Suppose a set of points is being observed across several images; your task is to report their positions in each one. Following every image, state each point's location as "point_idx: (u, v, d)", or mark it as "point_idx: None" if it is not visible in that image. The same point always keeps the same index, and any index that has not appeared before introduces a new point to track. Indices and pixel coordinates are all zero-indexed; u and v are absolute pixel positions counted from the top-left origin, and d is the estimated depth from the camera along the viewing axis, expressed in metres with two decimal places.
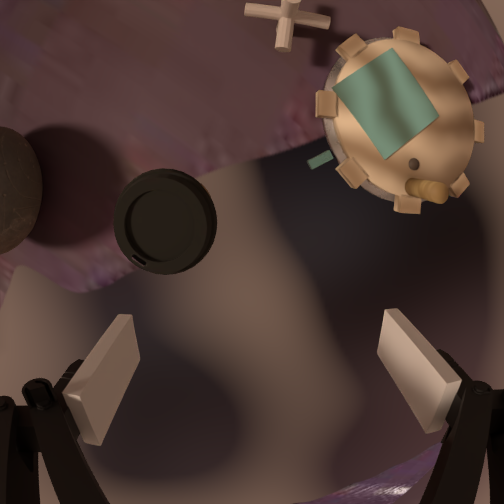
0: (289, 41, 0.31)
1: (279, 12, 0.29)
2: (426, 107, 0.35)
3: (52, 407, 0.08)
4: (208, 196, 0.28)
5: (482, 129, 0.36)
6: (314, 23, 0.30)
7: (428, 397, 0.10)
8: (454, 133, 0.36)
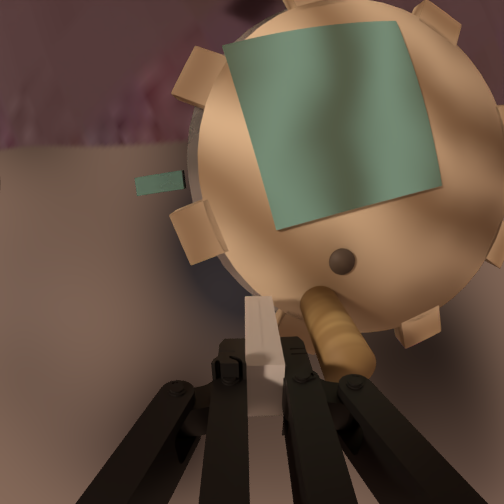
0: None
1: None
2: (421, 158, 0.17)
3: (238, 385, 0.11)
4: None
5: None
6: None
7: None
8: (456, 232, 0.19)
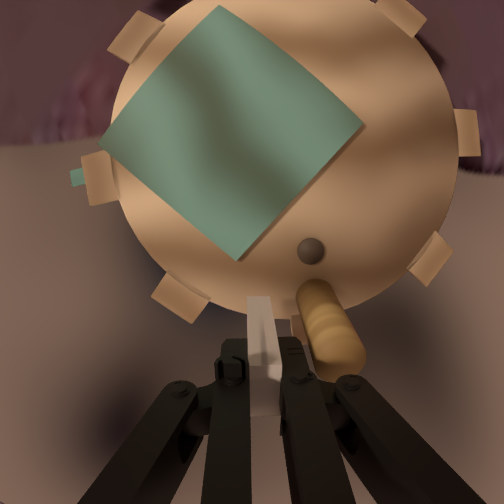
0: None
1: None
2: (325, 112, 0.17)
3: (240, 385, 0.11)
4: None
5: (474, 127, 0.17)
6: None
7: None
8: (409, 154, 0.17)
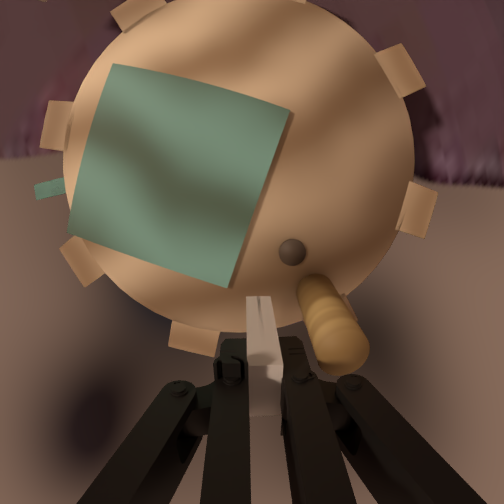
0: None
1: None
2: (249, 117, 0.17)
3: (240, 385, 0.11)
4: None
5: (407, 60, 0.16)
6: None
7: None
8: (350, 118, 0.17)
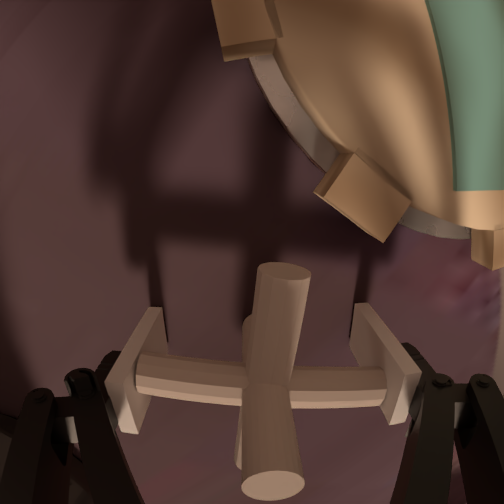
0: (366, 386, 0.12)
1: None
2: (447, 4, 0.09)
3: (94, 397, 0.09)
4: None
5: None
6: (301, 325, 0.11)
7: (390, 388, 0.11)
8: None
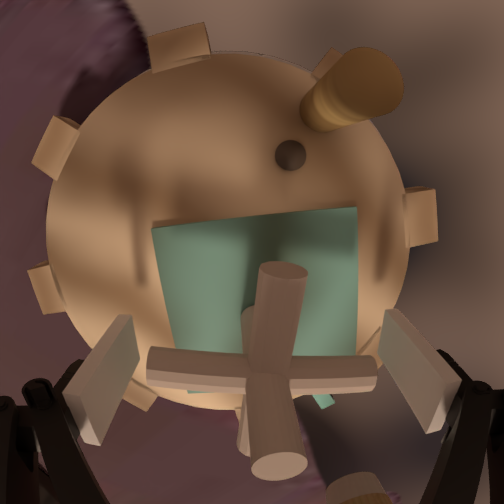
0: (359, 373, 0.13)
1: None
2: (177, 262, 0.17)
3: (52, 407, 0.08)
4: None
5: (42, 147, 0.15)
6: None
7: (428, 397, 0.10)
8: (126, 167, 0.16)
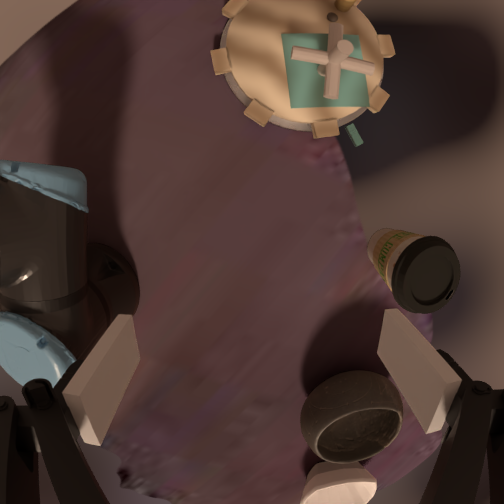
0: (367, 61, 0.32)
1: (337, 65, 0.32)
2: (291, 45, 0.36)
3: (52, 407, 0.08)
4: (415, 242, 0.34)
5: (229, 4, 0.35)
6: (342, 37, 0.31)
7: (428, 397, 0.10)
8: (270, 14, 0.35)
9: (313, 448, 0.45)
